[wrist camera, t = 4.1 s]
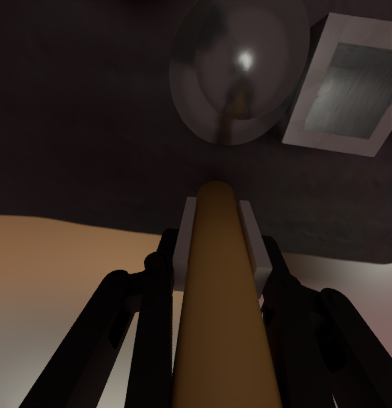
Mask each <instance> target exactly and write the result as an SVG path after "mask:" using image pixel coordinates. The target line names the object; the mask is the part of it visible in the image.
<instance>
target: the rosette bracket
mask: <svg viewBox="0 0 392 408" xmlns="http://www.w3.org/2000/svg"><path fill="white" fill-rule="evenodd" d="M169 82H170V90H171V95H172V99H173V102H174V105H175V108H176V110H177V112H178V114H179V116H180V117H181V119H182V120H183V122H184V123H185V124H186V126H187V127H188V128H189V129H190V130H191V131H192V132H193V133H194V134H196V135H197V136H198V137H200V138H202V139H203V140H205V141H207V142H210V143H213V144H217V145H224V146H232V145H239V144H243V143H247V142H250V141H252V140H254V139H256V138H258V137H259V136H261V135H263V134H264V133H266V134H268V135H270V136H271V137H273V138H275V139H276V140H278V141H279V142H281V143H285V144H292V145H298V146H305V147H311V148H318V149H324V150H331V151H338V152H344V153H351V154H357V155H364V156H370V157H374V156H375V155H376V153H377V152H378V150H379V149H380V147H381V146H382V144H383V143H384V141H385V140H386V138H387V137H388V135H389V134H390V132H391V130H392V22H390V21H383V20H376V19H369V18H362V17H356V16H349V15H342V14H335V13H329V14H327V15H326V16H325V17H323V18H322V19H321V20H320V21H318V22H317V23H316V24H314V25H313V26H312V27H310V26H309V19H308V15H307V12H306V9H305V6H304V4H303V2H302V0H200V1H199V2H198V3H197V4H196V5H195V6H194V7H193V8H192V10H191V11H190V12H189V14H188V15H187V16H186V18H185V20H184V21H183V23H182V25H181V27H180V29H179V31H178V33H177V35H176V38H175V41H174V44H173V47H172V52H171V57H170V65H169Z"/></svg>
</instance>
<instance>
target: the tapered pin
mask: <svg viewBox="0 0 392 408" xmlns="http://www.w3.org/2000/svg"><path fill="white" fill-rule="evenodd" d="M170 408H283V405H282V400H281V396H280V392H279V387H278V383H277V379H276V374H275V370H274V366H273V361H272V357H271V353H270V348H269V344H268V339H267V335H266V331H265V326H264V322H263V318H262V313H261V309H260V305H259V300H258V296H257V292H256V287H255V283H254V278H253V274H252V270H251V265H250V261H249V257H248V252H247V248H246V244H245V239H244V235H243V231H242V226H241V222H240V218H239V213H238V209H237V204H236V200H235V196H234V192H233V190H232V188H231V187H230V186H229V185H228V184H227V183H225V182H222V181H210V182H207V183H206V184H204V185H203V186H202V187H201V188H200V189H199V191H198V195H197V202H196V211H195V218H194V225H193V233H192V240H191V247H190V254H189V262H188V269H187V274H186V281H185V288H184V295H183V302H182V309H181V316H180V323H179V331H178V338H177V346H176V352H175V359H174V367H173V373H172V380H171V388H170Z"/></svg>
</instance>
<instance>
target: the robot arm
mask: <svg viewBox="0 0 392 408" xmlns="http://www.w3.org/2000/svg"><path fill="white" fill-rule="evenodd" d="M195 211H196V197H187V200H186V205H185V209H184V213H183V217H182V222H181V226H180V229H167V230H166V231H165V232H164V233H163V234H162V237H161V240H160V243H159V246H158V249H157V251H156V252H153V253H151V254H149V255H148V256H147V257H146V258H145V260H144V266H145V270H144V271H142V272H138V273H133V274H128V272H127V271H124V270H115V271H112V272H111V273H109V274H107V275H106V277H105V278H104V279H103V280H102V282H101V283H100V285H99V286H98V288H97V290H96V291H95V292H94V294H93V295H92V297H91V298H90V300H89V301H88V303H87V305H86V306H85V308H84V309H83V311H82V312H81V314H80V315H79V317H78V318H77V320H76V321H75V323H74V324H73V326H72V327H71V329H70V330H69V332H68V333H67V335H66V336H65V338H64V339H63V341H62V342H61V344H60V345H59V347H58V349H57V350H56V352H55V353H54V355H53V356H52V358H51V359H50V361H49V362H48V364H47V365H46V367H45V369H44V370H43V371H42V373H41V374H40V376H39V377H38V379H37V380H36V382H35V383H34V385H33V386H32V388H31V390H30V391H29V393H28V394H27V396H26V397H25V399H24V400H23V402H22V403H21V405H20V406H19V408H96V407H97V405H98V402H99V400H100V397H101V395H102V392H103V390H104V388H105V385H106V383H107V380H108V378H109V375H110V372H111V370H112V368H113V366H114V363H115V361H116V358H117V356H118V353H119V351H120V349H121V346H122V343H123V341H124V339H125V336H126V334H127V331H128V329H129V327H130V324H131V322H132V319H133V317H134V314H135V313H136V312H139V318H138V324H137V330H136V337H135V343H134V349H133V356H132V362H131V368H130V374H129V380H128V387H127V393H126V400H125V406H124V408H170V388H171V380H172V316H173V312H172V311H173V308H172V307H173V305H172V303H173V297H172V293H173V289H174V291H183V292H184V288H185V281H186V274H187V269H188V262H189V254H190V247H191V240H192V233H193V225H194V218H195ZM238 213H239V218H240V222H241V226H242V231H243V235H244V239H245V244H246V248H247V252H248V257H249V261H250V265H251V270H252V274H253V278H254V283H255V287H256V292H257V296H258V299H260V297H261V295H262V294H263V298H264V302H263V305H262V307H261V313H262V312H263V322H264V326H265V331H266V335H267V339H268V344H269V348H270V353H271V357H272V361H273V366H274V370H275V374H276V379H277V383H278V387H279V392H280V396H281V400H282V405H283V408H336V406H335V403H334V400H333V397H334V399H335V401H336V404H337V406H338V408H392V357H391V356H390V355H389V353H388V352H387V351H386V349H385V348H384V347H383V345H382V344H381V343H380V341H379V340H378V338H377V337H376V336H375V335H374V333H373V332H372V330H371V329H370V327H369V326H368V325H367V323H366V322H365V321H364V319H363V318H362V317H361V315H360V314H359V312H358V311H357V310H356V308H355V307H354V306H353V304H352V303H351V302H350V300H348V298H347V297H346V296H345V295H343V294H342V293H341V292H339V291H337V290H335V289H331V288H324V289H323V290H321V292H318V291H316V290H313V289H310V288H307V287H305V286H303V285H301V283H300V282H299V281H298V280H297V278H295V277H294V276H292V275H291V274H290V272H289V270H288V267H287V265H286V263H285V261H284V259H283V256H282V254H281V252H280V249H279V247H278V245H277V243H276V241H275V240H274V239H273V238H272V237H271V236H261V234H260V231H259V228H258V225H257V223H256V220H255V217H254V214H253V211H252V208H251V206H250V203H249V201H241V200H240V201H239V206H238ZM332 395H333V396H332Z"/></svg>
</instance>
